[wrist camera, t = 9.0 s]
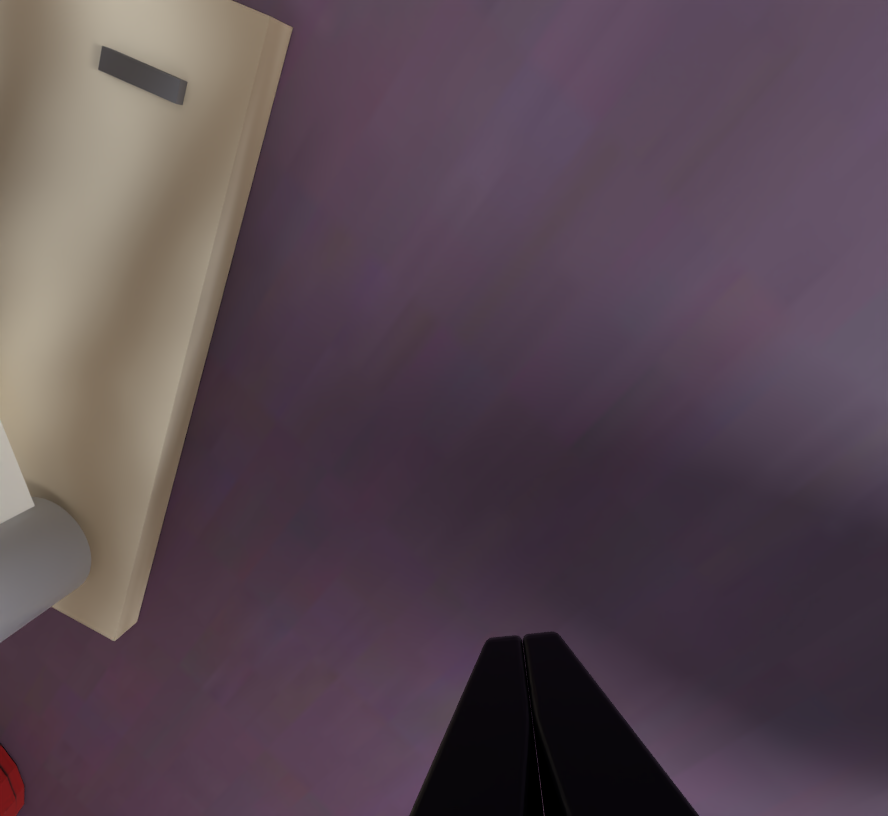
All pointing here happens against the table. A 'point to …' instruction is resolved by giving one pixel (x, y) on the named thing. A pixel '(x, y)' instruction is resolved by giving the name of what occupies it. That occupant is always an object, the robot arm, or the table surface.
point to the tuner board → (119, 252)
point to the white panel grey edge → (34, 549)
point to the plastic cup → (10, 786)
